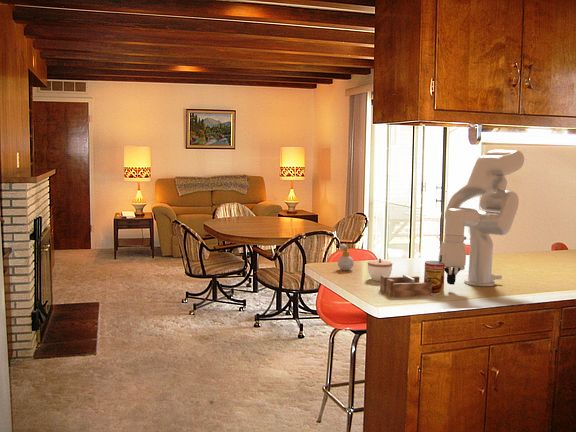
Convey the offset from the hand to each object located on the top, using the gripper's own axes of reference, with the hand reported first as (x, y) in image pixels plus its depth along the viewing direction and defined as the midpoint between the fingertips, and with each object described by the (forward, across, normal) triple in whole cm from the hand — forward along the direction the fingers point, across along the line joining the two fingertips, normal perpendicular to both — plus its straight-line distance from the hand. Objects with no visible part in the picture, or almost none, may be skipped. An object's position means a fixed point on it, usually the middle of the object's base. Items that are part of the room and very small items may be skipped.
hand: (450, 283), depth 250 cm
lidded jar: (+4, +21, -26) cm, 33 cm away
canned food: (+4, +7, -1) cm, 8 cm away
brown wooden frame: (+4, +19, -1) cm, 19 cm away
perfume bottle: (+3, +30, -50) cm, 58 cm away
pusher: (+4, +22, -1) cm, 23 cm away
